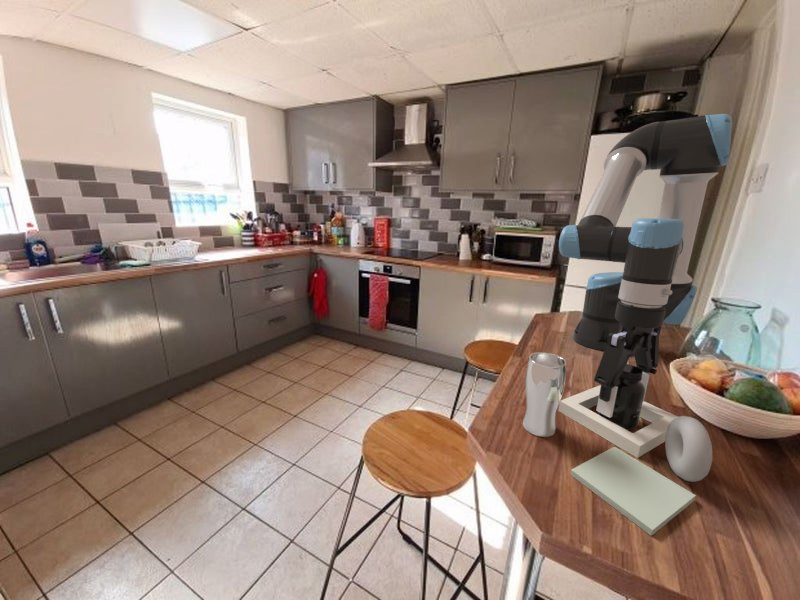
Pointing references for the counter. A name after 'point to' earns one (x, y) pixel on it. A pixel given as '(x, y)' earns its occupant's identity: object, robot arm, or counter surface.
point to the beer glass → (543, 392)
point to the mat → (633, 489)
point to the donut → (688, 448)
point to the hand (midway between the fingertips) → (620, 406)
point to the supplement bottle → (628, 398)
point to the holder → (617, 435)
